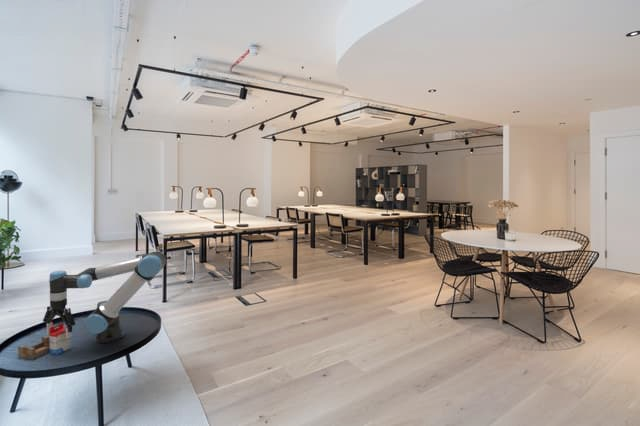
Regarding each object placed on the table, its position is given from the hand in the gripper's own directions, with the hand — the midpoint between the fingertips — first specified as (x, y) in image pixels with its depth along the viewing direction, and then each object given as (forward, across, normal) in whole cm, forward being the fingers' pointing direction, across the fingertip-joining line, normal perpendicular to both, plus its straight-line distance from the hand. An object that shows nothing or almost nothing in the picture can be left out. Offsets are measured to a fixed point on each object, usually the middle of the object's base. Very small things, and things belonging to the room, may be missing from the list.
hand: (59, 335), depth 189 cm
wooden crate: (+9, +9, +5) cm, 13 cm away
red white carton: (+9, 0, 0) cm, 9 cm away
